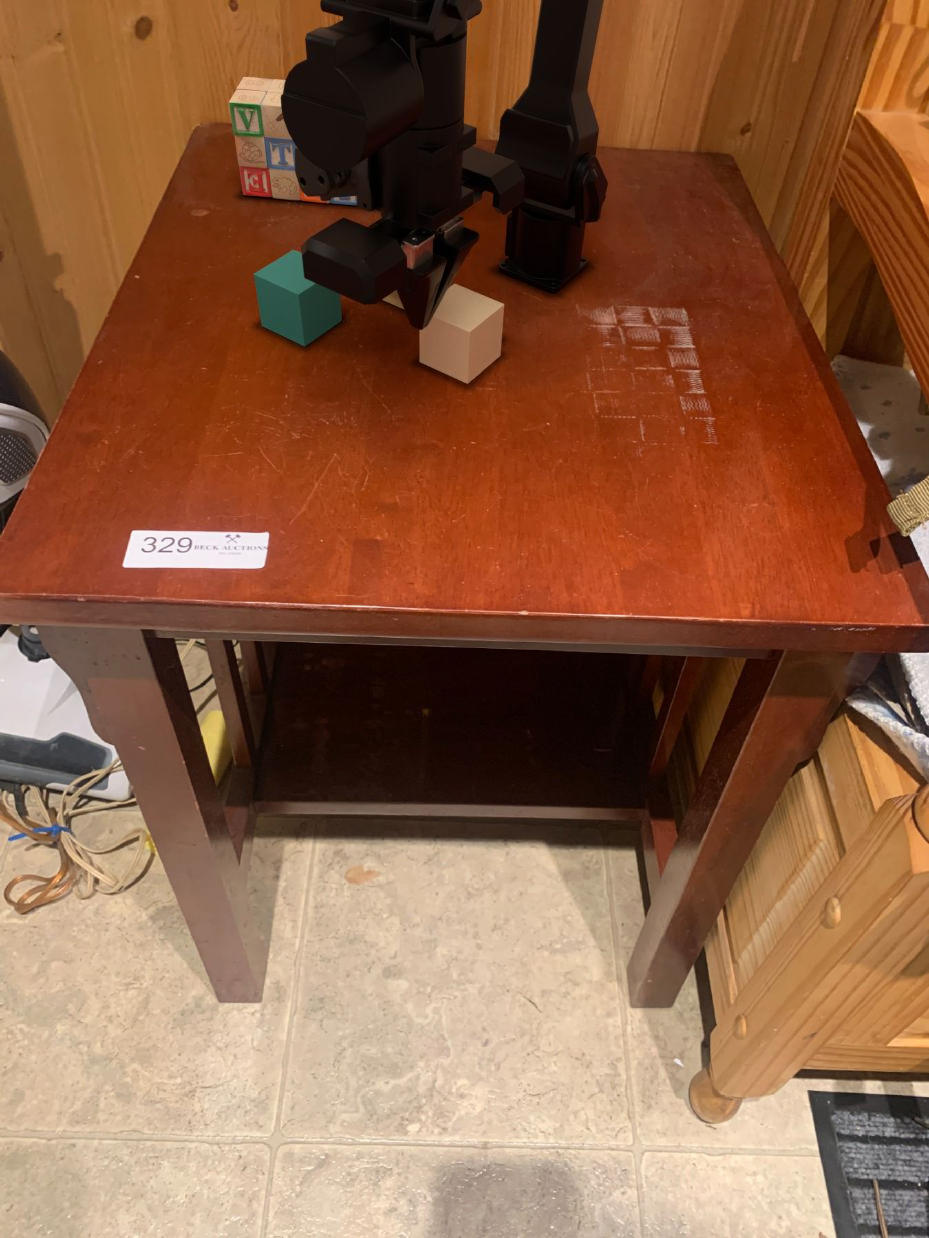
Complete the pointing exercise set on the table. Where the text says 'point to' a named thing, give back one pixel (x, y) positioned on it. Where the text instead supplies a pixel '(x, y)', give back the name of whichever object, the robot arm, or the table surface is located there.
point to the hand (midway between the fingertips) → (419, 326)
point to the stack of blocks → (266, 143)
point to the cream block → (463, 334)
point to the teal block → (295, 301)
